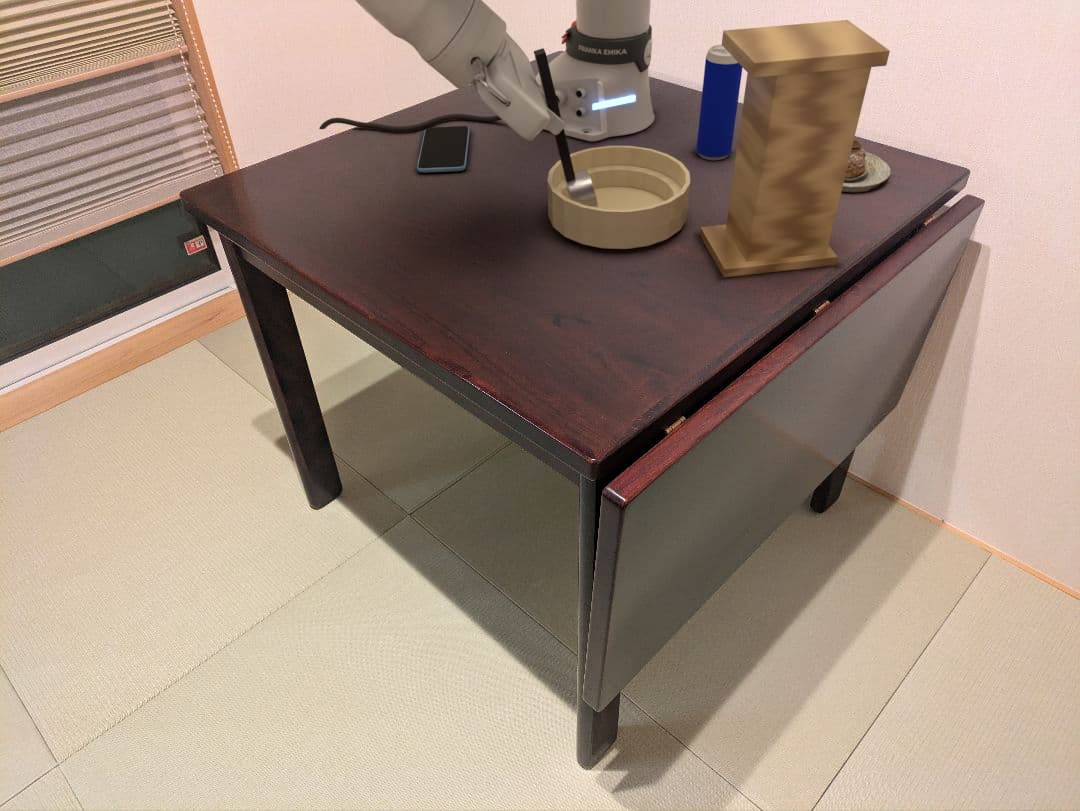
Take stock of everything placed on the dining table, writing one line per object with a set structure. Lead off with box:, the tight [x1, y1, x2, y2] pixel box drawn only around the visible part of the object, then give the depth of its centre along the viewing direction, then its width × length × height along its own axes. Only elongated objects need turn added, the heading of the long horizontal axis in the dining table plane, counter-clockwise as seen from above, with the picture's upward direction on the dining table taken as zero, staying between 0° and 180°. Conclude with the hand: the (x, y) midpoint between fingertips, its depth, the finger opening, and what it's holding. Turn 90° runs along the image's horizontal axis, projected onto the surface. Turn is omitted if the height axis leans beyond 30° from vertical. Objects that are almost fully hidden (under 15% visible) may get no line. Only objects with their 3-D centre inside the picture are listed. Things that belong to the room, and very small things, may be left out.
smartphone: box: [416, 125, 471, 174], centre depth 122 cm, size 7×1×15 cm
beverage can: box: [695, 44, 744, 161], centre depth 114 cm, size 5×5×15 cm
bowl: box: [546, 145, 691, 250], centre depth 104 cm, size 18×18×6 cm
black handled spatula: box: [533, 47, 598, 208], centre depth 97 cm, size 22×6×3 cm
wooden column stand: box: [699, 19, 891, 278], centre depth 90 cm, size 14×10×25 cm
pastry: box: [841, 140, 892, 193], centre depth 111 cm, size 12×12×5 cm
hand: (558, 123), depth 95 cm, fingers closed on black handled spatula, 2 cm apart
